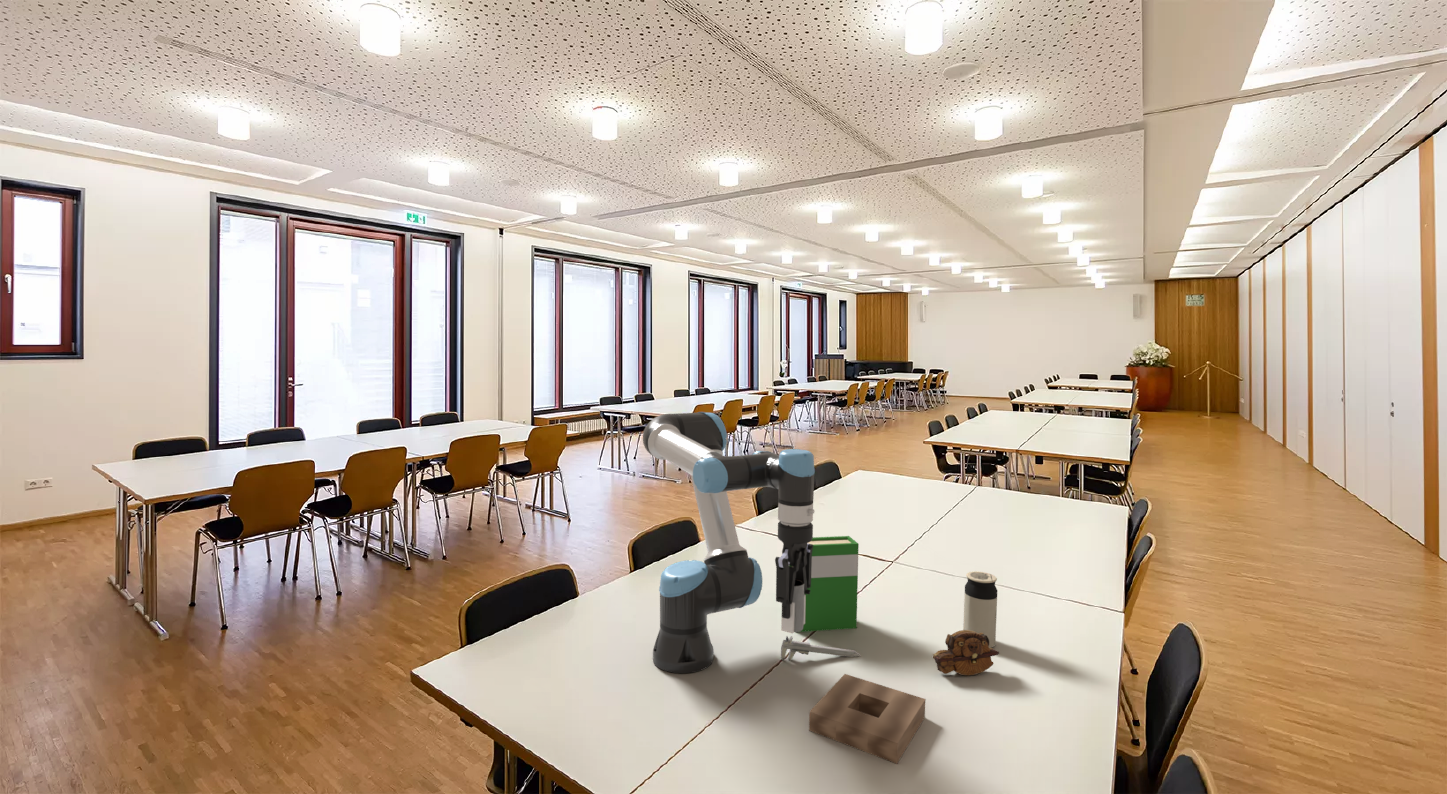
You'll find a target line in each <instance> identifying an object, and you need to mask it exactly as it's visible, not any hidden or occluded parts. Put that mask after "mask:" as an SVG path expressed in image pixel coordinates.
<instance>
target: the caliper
mask: <svg viewBox="0 0 1447 794" xmlns="http://www.w3.org/2000/svg"><path fill="white" fill-rule="evenodd" d="M788 650H789V652H788V656H787V657H788V658H787V660H788V661H790V662H791V661H792V659H793V657H794V656H795V655H796V653H797V652H798V653H800V654H802V655H809V653H815V654H816V653H817V654H822V655H823V654H825V655H833V656H840V657H845V658H846V657H848V658H853V657H861V654H860V653H859V652H857V651H856V650H855V649H848V648H846V649H845V648H841V647H840V648H839V647H833V646H832V647H831V646H823V645H817V644H815V645H814V644H811V643H810V642H805V641H798V640H793V636H790V637H788V635H786V637H785V639H783V640H782V643H781V646H780V659H781V661H783V662H784V661H785V657H786V655H787V651H788Z"/></svg>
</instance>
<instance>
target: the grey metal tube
mask: <svg viewBox="0 0 1447 794" xmlns="http://www.w3.org/2000/svg"><path fill="white" fill-rule="evenodd" d="M793 602H794V603H795V613H794V633H801V632H800V631H802V630H803V622H804V582H803V581H802V580H800V579H795V585H794V594H793Z"/></svg>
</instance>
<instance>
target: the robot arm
mask: <svg viewBox="0 0 1447 794" xmlns="http://www.w3.org/2000/svg"><path fill="white" fill-rule="evenodd" d="M727 437H728V435H727V430H726V427H725V424H724V422H723V420H722V419H721V417H719V416H718V415H717V414H715V412H714V413H713V412H706V411H698V412H682V413H681V412H680V413H665V414H660V415H659V416H655V417H654V418H653V419H651V420H650V421H649V422H648V423H647V425H646V426H645V427H644V429H643V433H642V442H643V446H644V448H645V450H646V452H647V453H649V454H650V455H651V456H653V457H654V458H655V459H658V460H662V461H664V460H666V461H668V462H669V463H671V464H673V465H674V466H676V467H678V468H679V469H681V470H682V471H683V472H686V473H687V474H689V475H690V476H691V477H690V478H691V482H692V486H693V487H692V488H693V492H694V496H695V501H696V505H697V509H698V513H699V519H700V523H701V527H702V533H703V537H704V540H705V541H704V542H705V545H706V546H705V547H706V550H707V554H706V556H705V558H704V559H703V561H702V560H696V559H693V560H689V559H686V560H681V561H678V562H677V561H676V562H675V563H672V564H670V565H668V566H667V567H665V568H664V570H663V571H662V572H661V574H660V581H659V589H658V591H659V629H658V630H659V631H658V633H657V637H656V639H655V642H654V646H653V649H652V662H653V664H654V666H655V667H657V668H658V669H660V670H662V671H664V672H669V673H674V674H689V673H690V674H691V673H695V672H699V671H702V670H704V669H706V668H708V667H709V666H710V665H712V663H713V662H714V649H715V648H714V646H713V643H712V641H711V637H710V634H709V631H708V627H707V626H708V625H707V624H708V615H711V614H714V613H720V612H725V611H730V610H734V609H742V608H744V607H746V606H750V605H753V604H754V603H756V602H757V601H758V599H759V598H760V596H761V592H762V590H763V589H762V588H763V573H762V569H761V566H760V564H759V563H758V561H757V559H755V558H754V557H753V558H752V557H749V555H748V550H747V549H746V548H745V547H743V546H741V545H740V541H739V538H738V533H737V528H736V524H735V521H734V516H733V512H732V507H731V504H730V500H729V496H728V492H731V491H732V492H733V491H739V490H748V489H749V490H750V489H759V488H766V487H767V488H772V489H775V490H778V499H777V501H778V502H777V504H778V505H777V520H778V523H777V538H778V540H779V541H781V542H782V543H783V545H782V550H781V556H776V557H775V559H774V562H775V563H774V564H775V570H776V571H775V572H776V573H775V577H776V578H775V582H776V583H775V601H776V603H777V602H778V603H780V604H781V625H780V626H781V627H780V629H781V631H782V632H786V633H790V634H792V635H793V634H794V633H795V632H794V613H795V603H794V602H793V594H794V585H795V579H800V580H802V581H803V582H804V622H803V625H804V624H805V605H806V595H805V594H810V591H811V590H807V588H810V587H811V566H812V551H813V544H808V543H809V542H810V541H812V539H813V537H814V536H813V535H814V534H813V533H814V525H813V523H812V522H813V520H814V514H815V509H814V492H815V474H816V473H815V472H816V470H815V460H814V459H815V456H814V454H813V452H811V451H810V450H806V449H799V448H798V449H797V448H791V449H789V448H788V449H787V448H786V449H782V450H781V451H780V452H779V454H777V453H775V452H772V451H768V450H767V451H766V450H765V451H764V450H756V451H755V452H753V453H751V454H745V455H743V454H742V455H731V456H728V455H727V456H726V455H724V453H723V451H724V449H726V446H727V442H728V440H727ZM791 566H793V567H791Z"/></svg>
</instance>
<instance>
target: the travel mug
mask: <svg viewBox="0 0 1447 794" xmlns="http://www.w3.org/2000/svg"><path fill="white" fill-rule="evenodd" d="M965 577H967V581H966V583H965V585H964V599H963V600H964V601H963V624H962V625H963V626H962V627H963V629H962V630H970V631H974V632H977V633H984V635H987V637H988V639H989V648H993V647H995V646H996V637H997V636H996V635H997V610H998V589H997V587H996V582H997V580H998V578H997V576H995V575H994V574H991V573H988V572H985V571H976V570H975V571H969V572H967V573H966V576H965Z"/></svg>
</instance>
